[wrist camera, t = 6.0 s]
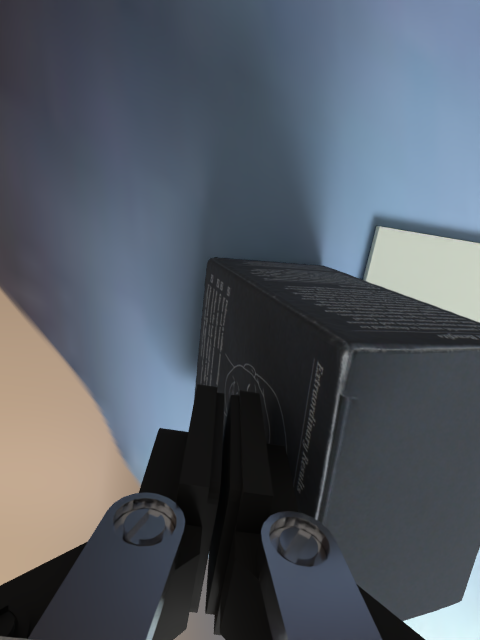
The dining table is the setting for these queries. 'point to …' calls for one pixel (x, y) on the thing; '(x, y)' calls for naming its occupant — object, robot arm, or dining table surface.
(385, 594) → the box
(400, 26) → the dining table surface
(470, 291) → the mat
